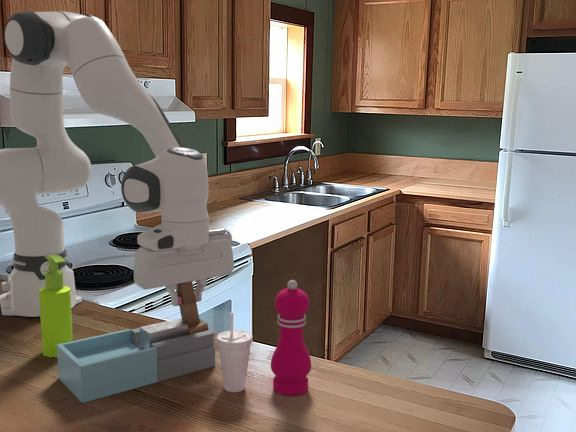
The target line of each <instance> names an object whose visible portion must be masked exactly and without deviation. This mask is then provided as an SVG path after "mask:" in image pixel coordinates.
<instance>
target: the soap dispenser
mask: <svg viewBox="0 0 576 432" xmlns="http://www.w3.org/2000/svg"><path fill="white" fill-rule="evenodd" d="M46 259H48V260H49V270H48V271H47V272H45V287H44V288H42V289H40V290H39V302H40V316H39V317H40V333H41V335H40V336H41V352H42V355H43V356H44V357H46V356H47V357H46V358H52V357H54V358H57V344H62V343H67V342H71V341H74V339H73V337H74V336H73V334H74V333H73V315H72V308H71V290H70V287H68V286H64V283H63V271H60V270H59V269H58V264H60V263H65V262H66V261H65V260H64V259H63V258H62V257H61V256H59V255H48V256H46Z"/></svg>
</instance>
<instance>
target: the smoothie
mask: <svg viewBox="0 0 576 432" xmlns="http://www.w3.org/2000/svg"><path fill="white" fill-rule="evenodd" d="M253 343H254V342H253V334H252V333H250V332H248V331H245V330H239V329H238V330H237V329H234V312H229V330H225V331H221V332H220V333H218V334H217V335H216V345H218V351H219V359H220V366H221V374H222V381H223V387H224V390H225V391H226V392H228V393H238V392H242V391H245V388H246V381H247V375H248V368H249V367H248V366H249V359H250V352H251V345H252V344H253Z"/></svg>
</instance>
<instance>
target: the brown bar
mask: <svg viewBox="0 0 576 432" xmlns="http://www.w3.org/2000/svg"><path fill="white" fill-rule="evenodd" d="M194 290H195V288H194V283H193V281H191V282H185V283H180V284H177V289H176V290H175V292H176V294H177V295H179V296H181V297H182V305H179V306H178V307H179V310H180V315H181V316H180V317H181V319H182V320H181V321H182V322H184V323H186V324H188V335H191V334H195V333H199V332H203V331H208V330H209V331H210V329H209V324H208V322H207V321H205V320H203V319H201V318H200V315H199V310H198V304H197V302H196V298H195V293H194Z"/></svg>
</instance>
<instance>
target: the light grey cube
mask: <svg viewBox="0 0 576 432" xmlns="http://www.w3.org/2000/svg"><path fill="white" fill-rule="evenodd" d="M160 323H161V322H157V323H156V322H155V323H153V324H148V325H144V326H139V328H140V347H141V348H142V349H148V348H151V344H153V343H157V342H161V341H165V340H169V329H168V328H167V327H165V326H163V325H162V324H160Z"/></svg>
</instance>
